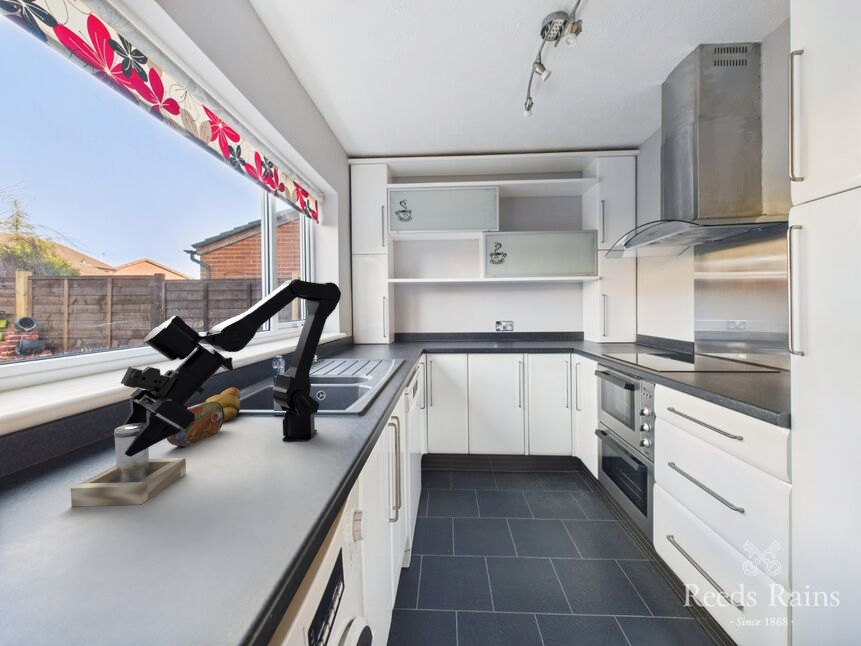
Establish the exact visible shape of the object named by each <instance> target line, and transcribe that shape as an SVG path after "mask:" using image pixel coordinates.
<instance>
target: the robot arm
mask: <svg viewBox="0 0 861 646" xmlns="http://www.w3.org/2000/svg"><path fill="white" fill-rule="evenodd" d="M341 297H342V291H341V290H340V287H339V286H338V284H336V283H335V282H332V281H331V282H320V283H319V282H314V281H313V282H312V281H306V280H301V279H299V278H295V279H287V280H285V281H284V282H283V283H282V284H281V285H280V286H278V287H277V288H276V289H274V290H273V291H272V292H271V293H269V294H268V295H267V296H265V297H264V298H263V299H261V300H259V301H258V302H257V303H256V304H254V305H253V306H252V307H250V308H249V309H247V310H246V311H245V312H243V313H241V314H238V315H236V316H233V317H230V318H229V319H227V320H224V321H222V322H221V323H218V324H217V325H215V326H213V327H212V328H211V329H210V330H209V331H208V330H207V331H199V332H198V331H196V330H195V329H193V328H192V327H191V326H190V325H188V324H187V323H186V322H185V321H184V320H183V319H182V318H181V317H180V316H178V315H173V316H171V317H170V318H169V319H167V320H166V321H164V322H162V323H161V324H160V325H158V326H156V327H154V328H153V329H152V330H151V331H150V332H149V333H148V334H147V335H146V336H145V337H144V339H143V342H144V343H145V344H146V345H148V346H149V347H151V348H152V349H154V350H155V351H156V352H158V353H160V354H161V355H162V356H164V357H165V358H167V359H168V360H169V361H175V360H177V359H179V360H180V361H183V360H184V361H183V362H181V363H180V364H179V366H178V367H177V368H176V369H175V370H174V369H168V370H167V371H166V372H165V373H164V374H162V373H161V369H160V368H156V367H152V366H149V365H148V366H146V368H144V369H142V368H139V367H133V366H131V365H130V366H128V368H127V370H126V371H125V374H124V375H123V377H122V378H121V381H120V384H121V385H123V387H128V388H133V389H136V390H134V391H133V392H132V393H131V395H129V396H130V397H132V398H133V399H134V400H133V399H132V398H130V399H129V403H130V404H129V405H130V413H129V414H128V416H127V418H126V420H125V421H124V423H123V425H122V426H124V425H128V424H135V423H146V425H145V426H144V427H143V428H142V430H141V431H140V432H139V434H138V435H137V436H136V438H135V439H134V440H133V442H132V443H131V444H130V446H129V447H128V449H127V450H126V452H125V455H127V456H129V457H131V456H133V455H135V454H137V453H139V452H141V451H143V450H145V449H146V448H148V449H149V448H150V447H152V446H153V445H156V444H158V443H160V442H162V441H164V440H167V438H168V437H170V436H172V435H174V434H176V433H178V432H179V433H180V432H181V431H182V430H181V429H179V427H182V428H184V429H185V430H188V428H189V427H190V426H191V425H192V424H193V423H194V422H195V414H194V413H193V412H191V411H189V410H188V409H187V408H189V406H188V407H187V406H186V405H187V404H188V403H189V402H190V401H191V400H192V399H193V397H194V396H196V394H202V393H204V391H205V389H204V388H203V387H204V386H205V385H206V384H207V383H208V382H209V380H210V379H212V377H213V376H215V374H216V373H217V372H218V371H219V370H220V369H221V368H222V369H223V370H226V371H230V372H231V371H233V370H234V367H233V357H232V356H224V355H222V354H221V353H220V352H219V351H222V352H227V353H238V352H240V351H242V350H244V349H245V348H246V346H247V345H248V344H249V343H250V342H251V341H252V339H254V337H255V336H256V334H257V332H258V330H259V329H260V328H261V327H262V326H263V325H264V324H265V323H266V322H268V321H269V320H270V319H271V318H273V317H274V316H276V315H277V314H278V313H279V312H280V311H282V310H283V309H284V308H285V307H287V306H288V305H289V304H290V303H292V302H293V301H294V300H296V298H298V299H301V300H305V305H306V306H305V307H306V313H307V314H306V317H305V320H304V323H303V327H302V329H301V332H300V335H299V338H298V341H297V344H296V348H295V350H294V353H293V356H292V359H291V363H290V366H289V368H288V369H287V370H286V372H284V374H283V373H278V374H277V376H276V379H275V383H274V385H273V387H272V388H271V390H272V391H273V390H274V393H273V395H272V396H273V397H272V398H273V401H274V400H275V402H276V403H277V404H279V405H280V407H281V409H282V411H286V413H285V414H284V415H283V417H284V418H283V419H282V436H283V438H282V442H295V441H296V442H297V441H299V442H301V441H302V442H304V441H311V440H312V438H313V437H314V436H315V435H316V434H317V432H318V430H317V429H316V426H315V425H316V424H315V423H316V422H315V419H316V418H315V414H317V413H318V410H319V407H320V403H319V401H317V400H315V399H314V398H313V397H312V396H311V388H312V382H311V375H310V373H311V369H312V365H313V363H314V359H315V356H316V354H317V350H318V347H319V344H320V341H321V337H322V335H323V334H322V333H323V331H324V328H325V325H326V322H327V319H328V318H329V317H330V316H331V314H332V313H333V312H335V310H336V308H337V306H338V304H339V303H340V300H341ZM203 345H210V346H211V347H212V348H211V349H207V348H205V347H204V346H203ZM113 442H114V443H115V438H114V439H113Z"/></svg>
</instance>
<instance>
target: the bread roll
mask: <svg viewBox="0 0 861 646" xmlns="http://www.w3.org/2000/svg"><path fill="white" fill-rule="evenodd" d="M240 398H241V391H240V389H238V388H237V387H233V386H232V387H229V388H227V389H225V390H224V391H222V392H220V394H215V395H212V396H211V397H207V399H205V402H211V401H215V402H218V403H220V404H221V406H222V407H223V409H224V422H226V421H227V422H228V421H230V420H234V419H235V417H236V416H237V414H239V413H240V411H241V400H240Z"/></svg>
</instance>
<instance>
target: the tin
mask: <svg viewBox="0 0 861 646" xmlns="http://www.w3.org/2000/svg"><path fill="white" fill-rule="evenodd" d="M187 409H188V410H189V411H191V412H193V413H194V414H195V422H194V423H193V424H192V425H191V426H190V427H189V428H188V430H185V429H184V428H182V427H179V429H181V430H182V431H181V432H180V433H179V432H178V433H176V434H174V435H172V436H170V437H168V438H166V441H167V442H168V443H169V444H170V445H172V446H176V447H189V446H191V444H192V445H194V444H196V443H198V442H200V441H202V440H204V439H207V438H210V437H211V436H214V435H216V434H217V433H218V432H219V431H220V430H221V428H222V427H223V425H224V422H225V421H224V409H223V407H222V406H221V404H220V403H218V402H215V401H211V402H206V401H204V402H201V403H198V404H195V405H192V406H188V408H187Z"/></svg>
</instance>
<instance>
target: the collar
mask: <svg viewBox="0 0 861 646" xmlns="http://www.w3.org/2000/svg"><path fill="white" fill-rule="evenodd" d="M186 459H187V458H186V457H169V458H168V457H167V458H149V473H150V475H149V476H147V477H146V478H144V479H142V480H141V481H139V482H123V483H117V470H116V465H113V466H111V467H109V468H107V469H106V470H103V471H102V472H99V473H98V474H96V475H94V476H92V477H90V478H88V479H86V480H84V481H82V482H80V483H79V484H76V485H74V486H72V487H70V498H71V500H70V501H71V503H70V504H71V507H99V506H102V507H103V506H106V507H107V506H136V505H138V506H140V504H141V505H143V504H144V503H146V502H147V501H149V500H150V499H151V498H152V496H153V497H155V496H156V495H157V494H158V493H160V492H161V491H162V490H164V489H165V488H167V487H168V486H170V485H171V484H173V483H174V482H176V481H177V480H179V479H180V478H182V477H183V476H184V475H185V474H187V465H186V464H187V463H186ZM149 498H150V499H149ZM146 500H147V501H146Z"/></svg>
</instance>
